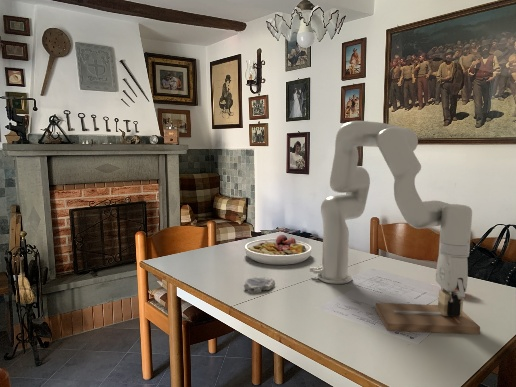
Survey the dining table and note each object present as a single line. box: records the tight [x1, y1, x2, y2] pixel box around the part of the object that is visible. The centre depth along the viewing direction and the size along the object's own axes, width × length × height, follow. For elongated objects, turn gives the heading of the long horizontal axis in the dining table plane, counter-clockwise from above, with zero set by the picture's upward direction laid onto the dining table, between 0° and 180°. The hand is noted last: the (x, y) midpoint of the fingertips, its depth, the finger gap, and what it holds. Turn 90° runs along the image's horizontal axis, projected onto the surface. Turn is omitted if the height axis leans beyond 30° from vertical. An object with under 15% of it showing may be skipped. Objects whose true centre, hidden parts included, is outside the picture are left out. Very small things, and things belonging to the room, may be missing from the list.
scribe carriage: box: [437, 289, 464, 316], centre depth 108 cm, size 6×4×6 cm
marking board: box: [375, 302, 481, 335], centre depth 109 cm, size 24×14×2 cm, turn 86°
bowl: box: [244, 234, 312, 266], centre depth 174 cm, size 30×30×8 cm
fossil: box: [243, 276, 276, 294], centre depth 135 cm, size 11×4×10 cm
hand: (449, 311), depth 109 cm, fingers closed on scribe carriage, 4 cm apart
